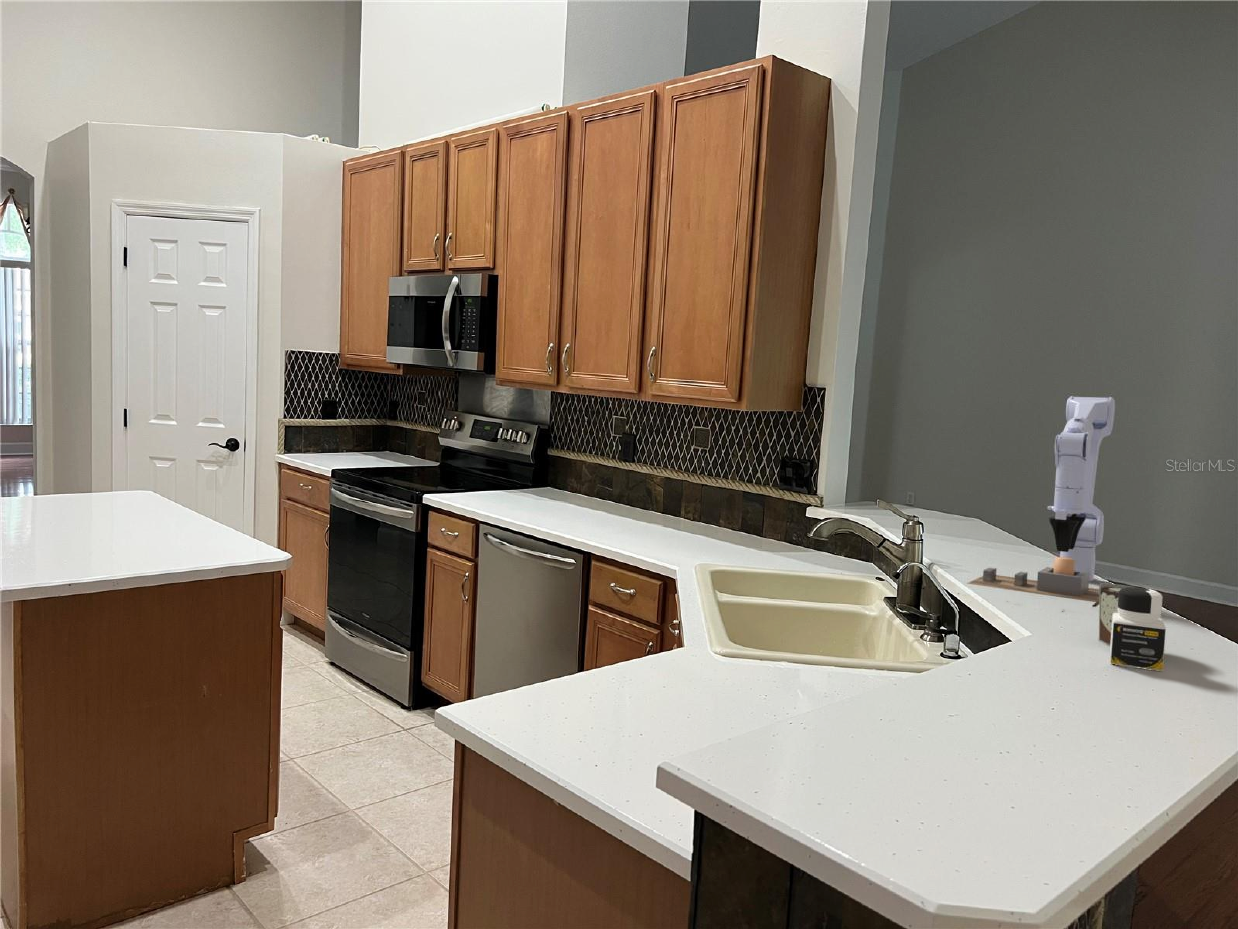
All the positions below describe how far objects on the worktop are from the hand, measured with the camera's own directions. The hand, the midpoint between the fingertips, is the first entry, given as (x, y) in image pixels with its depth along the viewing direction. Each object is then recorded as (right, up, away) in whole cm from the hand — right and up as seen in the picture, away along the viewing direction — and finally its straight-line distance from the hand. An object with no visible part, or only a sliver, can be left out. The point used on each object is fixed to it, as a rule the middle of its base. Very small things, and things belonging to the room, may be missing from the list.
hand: (1065, 550), depth 197 cm
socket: (0, -10, +1) cm, 10 cm away
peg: (0, -9, +1) cm, 9 cm away
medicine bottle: (-15, -13, -52) cm, 56 cm away
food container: (-10, -13, -43) cm, 46 cm away
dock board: (-4, -10, +4) cm, 11 cm away
